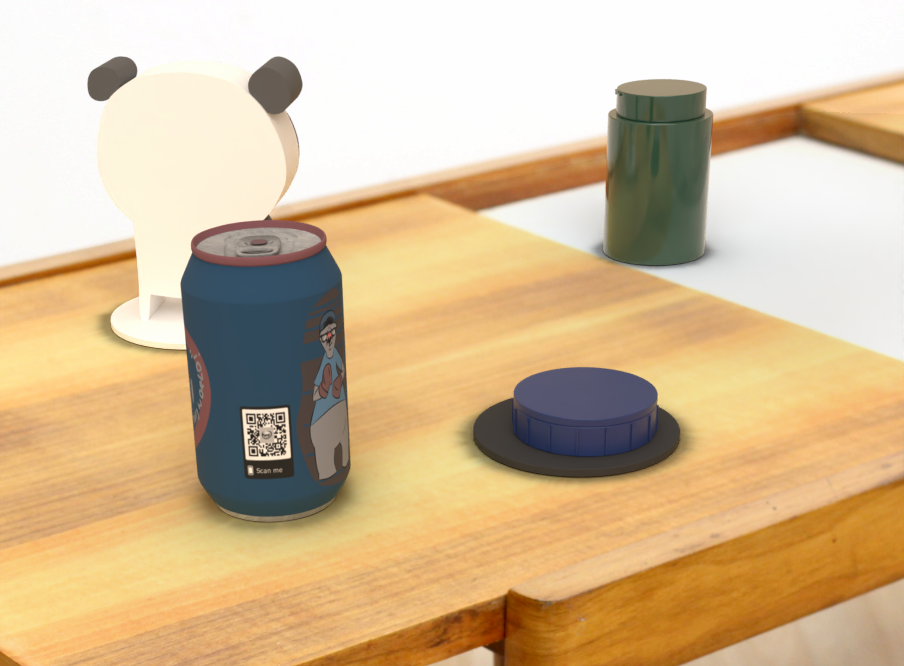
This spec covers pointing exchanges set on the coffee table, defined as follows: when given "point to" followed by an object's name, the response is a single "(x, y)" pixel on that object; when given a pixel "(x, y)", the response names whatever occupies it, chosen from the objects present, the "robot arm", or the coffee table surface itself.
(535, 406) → the jar lid
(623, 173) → the jar
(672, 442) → the coaster
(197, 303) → the soda can
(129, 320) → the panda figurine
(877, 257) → the coffee table surface
